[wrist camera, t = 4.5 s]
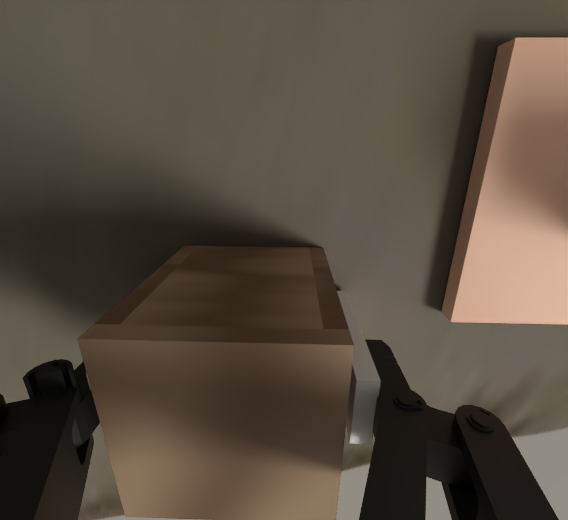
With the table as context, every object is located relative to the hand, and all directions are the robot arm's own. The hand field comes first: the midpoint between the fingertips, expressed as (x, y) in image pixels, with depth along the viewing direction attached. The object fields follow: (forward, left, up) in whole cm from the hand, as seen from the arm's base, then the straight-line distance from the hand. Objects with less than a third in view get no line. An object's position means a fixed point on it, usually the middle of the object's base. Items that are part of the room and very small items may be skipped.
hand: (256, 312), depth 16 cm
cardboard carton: (0, 0, 0) cm, 0 cm away
